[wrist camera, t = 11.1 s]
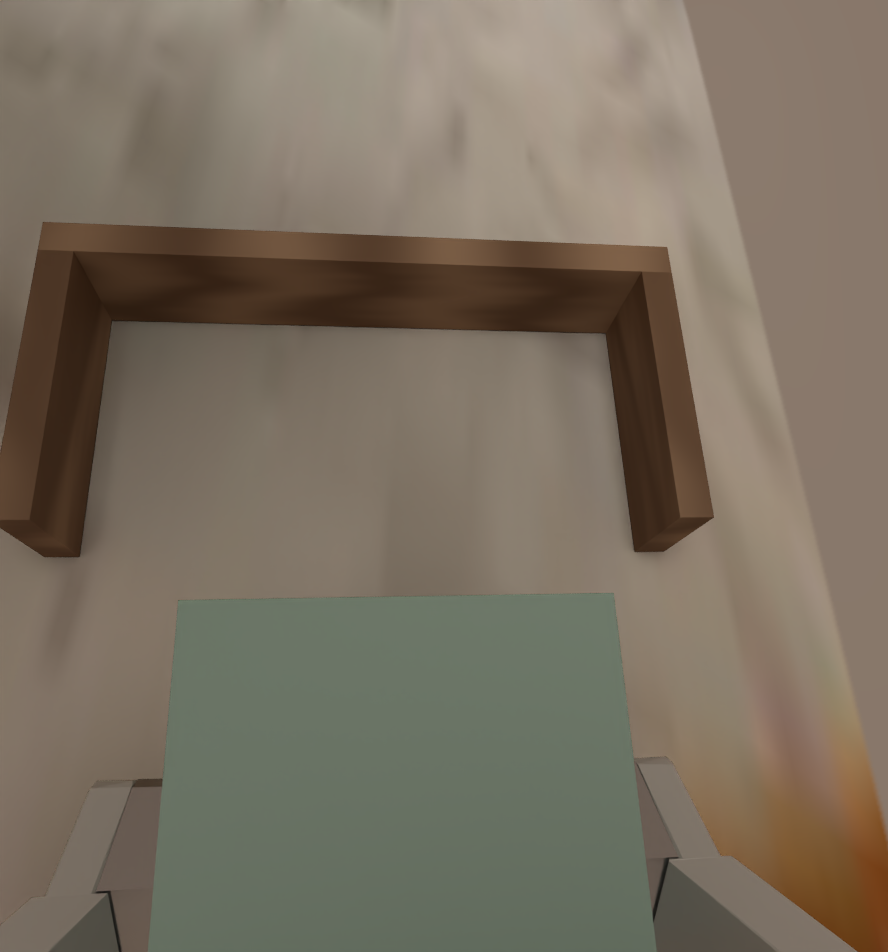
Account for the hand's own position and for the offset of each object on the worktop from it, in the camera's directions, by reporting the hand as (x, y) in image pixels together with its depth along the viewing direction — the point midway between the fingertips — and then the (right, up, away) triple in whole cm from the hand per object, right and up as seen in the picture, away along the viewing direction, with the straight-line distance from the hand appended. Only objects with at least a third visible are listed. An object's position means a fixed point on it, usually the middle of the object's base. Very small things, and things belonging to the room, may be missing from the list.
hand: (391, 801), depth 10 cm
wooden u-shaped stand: (-2, +7, +20) cm, 22 cm away
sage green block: (-1, -2, +4) cm, 5 cm away
